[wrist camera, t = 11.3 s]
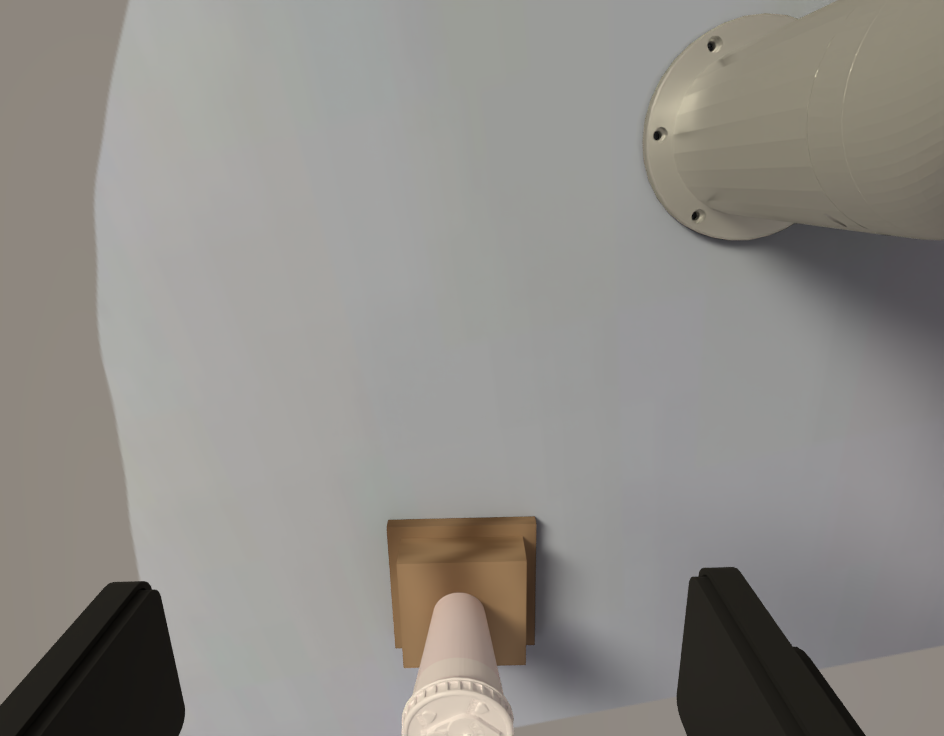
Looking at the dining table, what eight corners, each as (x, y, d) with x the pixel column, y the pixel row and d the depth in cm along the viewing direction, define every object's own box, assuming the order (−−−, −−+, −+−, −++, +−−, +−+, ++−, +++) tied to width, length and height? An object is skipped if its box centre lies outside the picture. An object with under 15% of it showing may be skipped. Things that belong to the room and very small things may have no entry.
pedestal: (534, 516, 44) (541, 548, 41) (533, 635, 48) (538, 675, 44) (388, 520, 44) (380, 552, 40) (396, 638, 48) (390, 678, 44)
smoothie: (505, 647, 43) (524, 857, 30) (418, 653, 43) (398, 865, 30) (501, 573, 41) (519, 762, 28) (409, 579, 41) (383, 771, 28)
